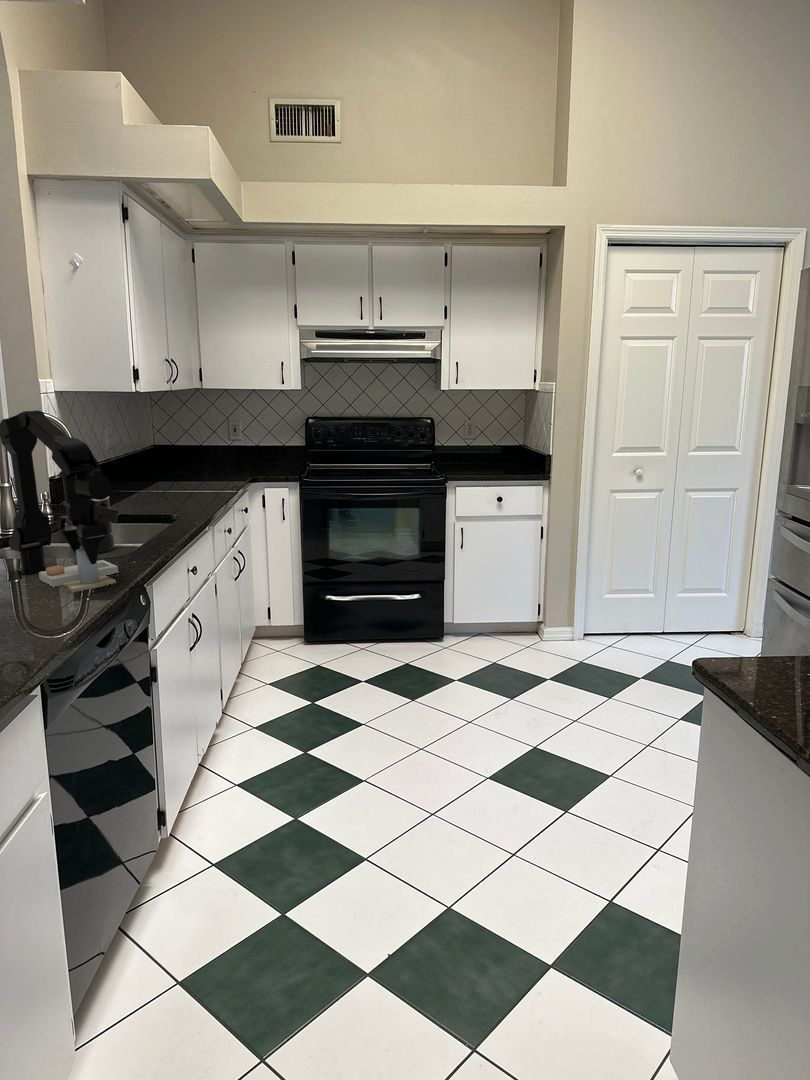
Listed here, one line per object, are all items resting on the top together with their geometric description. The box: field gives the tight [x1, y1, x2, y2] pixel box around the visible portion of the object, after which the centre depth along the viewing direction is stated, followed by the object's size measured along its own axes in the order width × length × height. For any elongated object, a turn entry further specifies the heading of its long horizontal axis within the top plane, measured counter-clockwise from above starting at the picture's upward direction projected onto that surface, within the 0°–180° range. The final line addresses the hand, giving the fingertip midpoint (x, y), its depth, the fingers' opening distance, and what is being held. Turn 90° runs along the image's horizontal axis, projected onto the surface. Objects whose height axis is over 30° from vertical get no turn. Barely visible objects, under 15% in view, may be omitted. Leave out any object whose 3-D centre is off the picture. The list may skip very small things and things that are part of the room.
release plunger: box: [45, 565, 65, 576], centre depth 186 cm, size 4×4×3 cm
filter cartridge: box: [75, 546, 99, 584], centre depth 181 cm, size 4×4×9 cm
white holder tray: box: [38, 559, 119, 588], centre depth 190 cm, size 10×16×2 cm, turn 132°
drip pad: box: [62, 575, 117, 593], centre depth 182 cm, size 7×10×1 cm
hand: (86, 560), depth 181 cm, fingers open, 9 cm apart
